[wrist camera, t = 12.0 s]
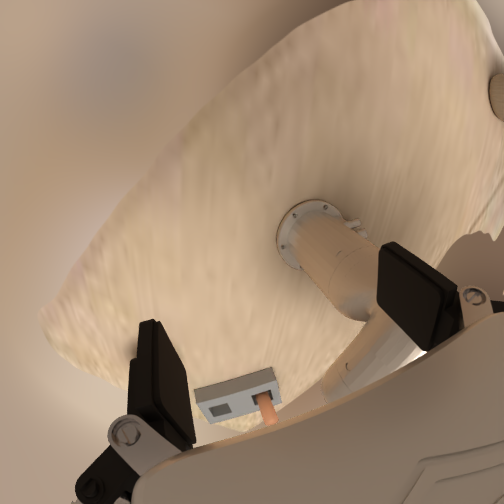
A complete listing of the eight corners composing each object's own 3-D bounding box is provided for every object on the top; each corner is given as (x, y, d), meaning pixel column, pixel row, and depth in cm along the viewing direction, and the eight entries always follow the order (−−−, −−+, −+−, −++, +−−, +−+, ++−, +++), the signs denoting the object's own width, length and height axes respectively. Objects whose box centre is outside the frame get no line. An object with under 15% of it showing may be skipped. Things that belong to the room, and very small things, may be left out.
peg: (263, 379, 63) (277, 416, 53) (265, 386, 64) (279, 422, 54) (250, 383, 62) (263, 420, 53) (253, 390, 64) (266, 426, 54)
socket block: (271, 367, 61) (276, 380, 58) (276, 390, 66) (282, 402, 62) (194, 389, 59) (196, 403, 55) (207, 411, 63) (210, 424, 60)
